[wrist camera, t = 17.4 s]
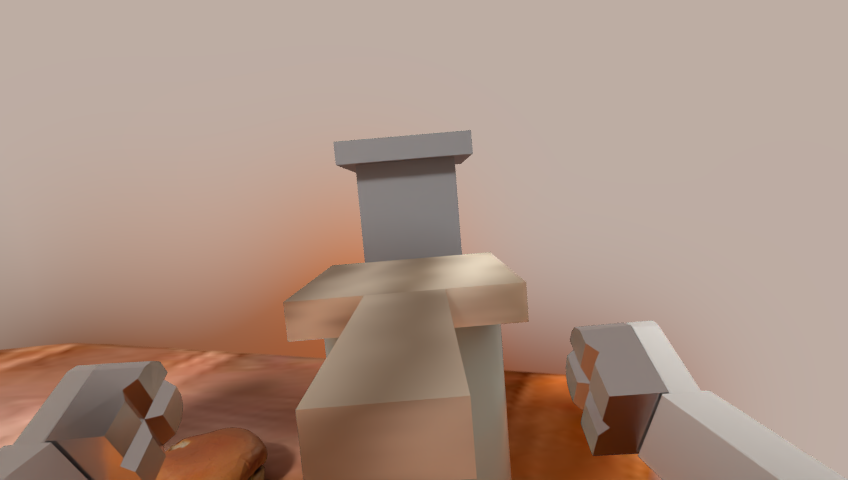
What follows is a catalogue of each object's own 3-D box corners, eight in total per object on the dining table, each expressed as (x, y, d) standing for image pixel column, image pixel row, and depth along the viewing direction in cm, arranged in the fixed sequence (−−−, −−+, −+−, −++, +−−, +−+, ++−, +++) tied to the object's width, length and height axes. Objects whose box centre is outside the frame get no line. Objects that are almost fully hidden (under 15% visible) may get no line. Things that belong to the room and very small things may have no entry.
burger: (240, 532, 35) (232, 476, 35) (125, 538, 36) (116, 482, 35) (284, 459, 45) (279, 414, 45) (194, 465, 45) (188, 420, 45)
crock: (336, 656, 25) (300, 337, 23) (362, 515, 36) (339, 292, 34) (537, 640, 25) (515, 319, 23) (501, 504, 36) (485, 279, 34)
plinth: (366, 467, 42) (333, 141, 39) (378, 407, 54) (354, 154, 51) (494, 456, 42) (470, 130, 39) (478, 399, 54) (459, 145, 51)
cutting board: (133, 506, 10) (121, 424, 10) (334, 291, 34) (332, 265, 34) (649, 464, 10) (646, 381, 10) (491, 278, 34) (489, 252, 34)
